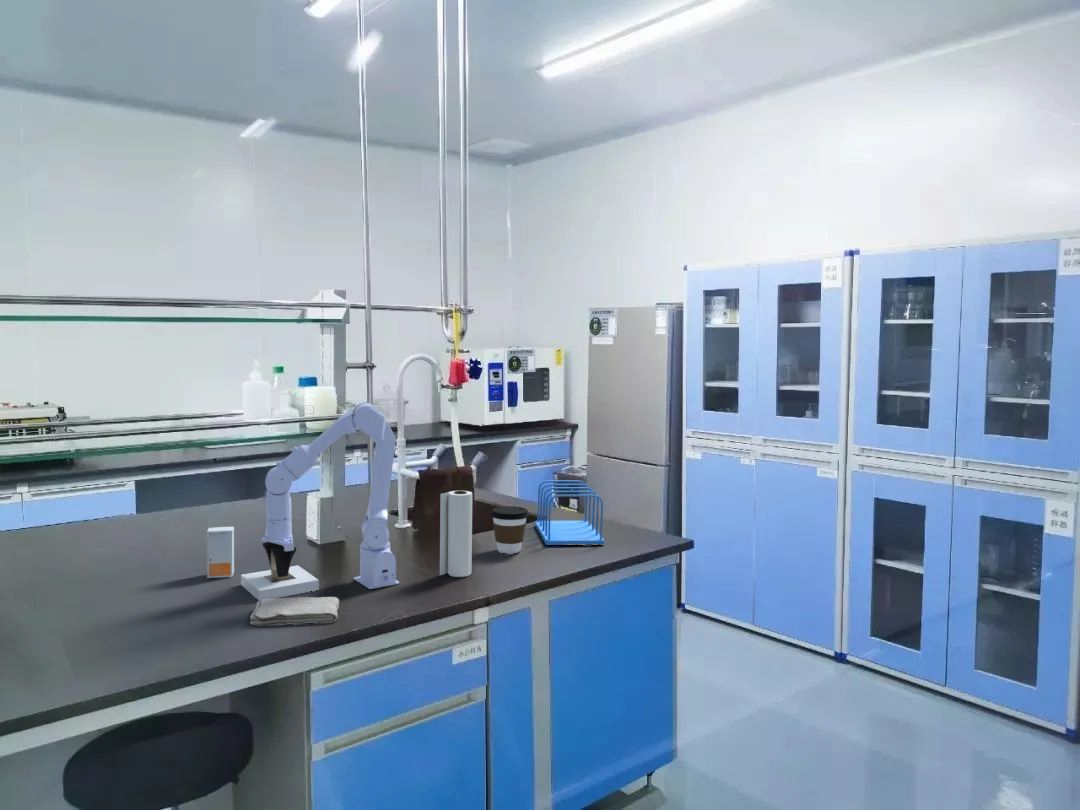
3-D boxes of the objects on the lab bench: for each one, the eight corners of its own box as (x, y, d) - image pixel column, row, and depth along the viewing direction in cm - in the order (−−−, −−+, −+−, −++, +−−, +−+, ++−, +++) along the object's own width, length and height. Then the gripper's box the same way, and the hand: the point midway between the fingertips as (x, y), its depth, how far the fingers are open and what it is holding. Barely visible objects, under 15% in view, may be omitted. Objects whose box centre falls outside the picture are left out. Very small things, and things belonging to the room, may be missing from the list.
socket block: (318, 590, 189) (318, 580, 188) (259, 601, 180) (259, 590, 180) (298, 575, 200) (298, 565, 199) (241, 584, 191) (240, 574, 191)
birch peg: (291, 582, 190) (291, 553, 189) (275, 585, 187) (274, 556, 186) (284, 577, 193) (284, 549, 192) (268, 580, 190) (268, 552, 189)
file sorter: (604, 546, 233) (606, 495, 231) (546, 547, 230) (547, 495, 229) (587, 525, 257) (588, 479, 256) (534, 526, 255) (535, 479, 253)
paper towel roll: (474, 572, 205) (475, 490, 203) (466, 578, 199) (467, 495, 197) (448, 569, 207) (449, 488, 205) (439, 576, 201) (440, 493, 199)
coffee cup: (515, 544, 232) (516, 504, 231) (535, 553, 223) (536, 511, 222) (483, 549, 227) (483, 508, 225) (502, 558, 217) (502, 516, 216)
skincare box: (206, 579, 195) (205, 531, 194) (209, 573, 199) (208, 527, 198) (233, 577, 197) (232, 530, 196) (234, 572, 201) (234, 526, 200)
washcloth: (257, 609, 177) (257, 595, 176) (340, 605, 180) (340, 592, 180) (248, 629, 165) (248, 614, 165) (337, 624, 168) (337, 610, 168)
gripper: (252, 513, 192) (253, 568, 193) (272, 526, 180) (272, 584, 181) (281, 510, 196) (282, 564, 197) (302, 522, 184) (302, 579, 186)
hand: (279, 573), depth 190 cm, fingers closed on birch peg, 4 cm apart
